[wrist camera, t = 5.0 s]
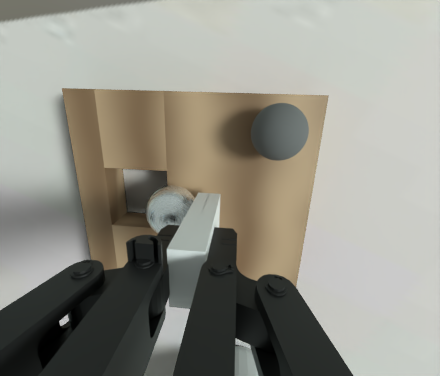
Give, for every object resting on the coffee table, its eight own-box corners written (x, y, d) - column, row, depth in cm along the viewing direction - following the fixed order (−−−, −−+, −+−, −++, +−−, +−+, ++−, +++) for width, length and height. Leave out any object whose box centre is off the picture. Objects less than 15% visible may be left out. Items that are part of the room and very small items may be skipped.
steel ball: (196, 248, 13) (200, 223, 17) (196, 196, 12) (200, 180, 16) (140, 247, 13) (155, 222, 17) (135, 194, 12) (152, 178, 16)
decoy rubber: (247, 154, 15) (250, 164, 12) (251, 103, 14) (255, 99, 11) (296, 156, 14) (311, 166, 11) (303, 105, 14) (322, 101, 10)
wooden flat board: (110, 259, 21) (94, 277, 19) (86, 92, 17) (61, 88, 14) (287, 274, 20) (294, 294, 18) (314, 99, 16) (328, 95, 13)
